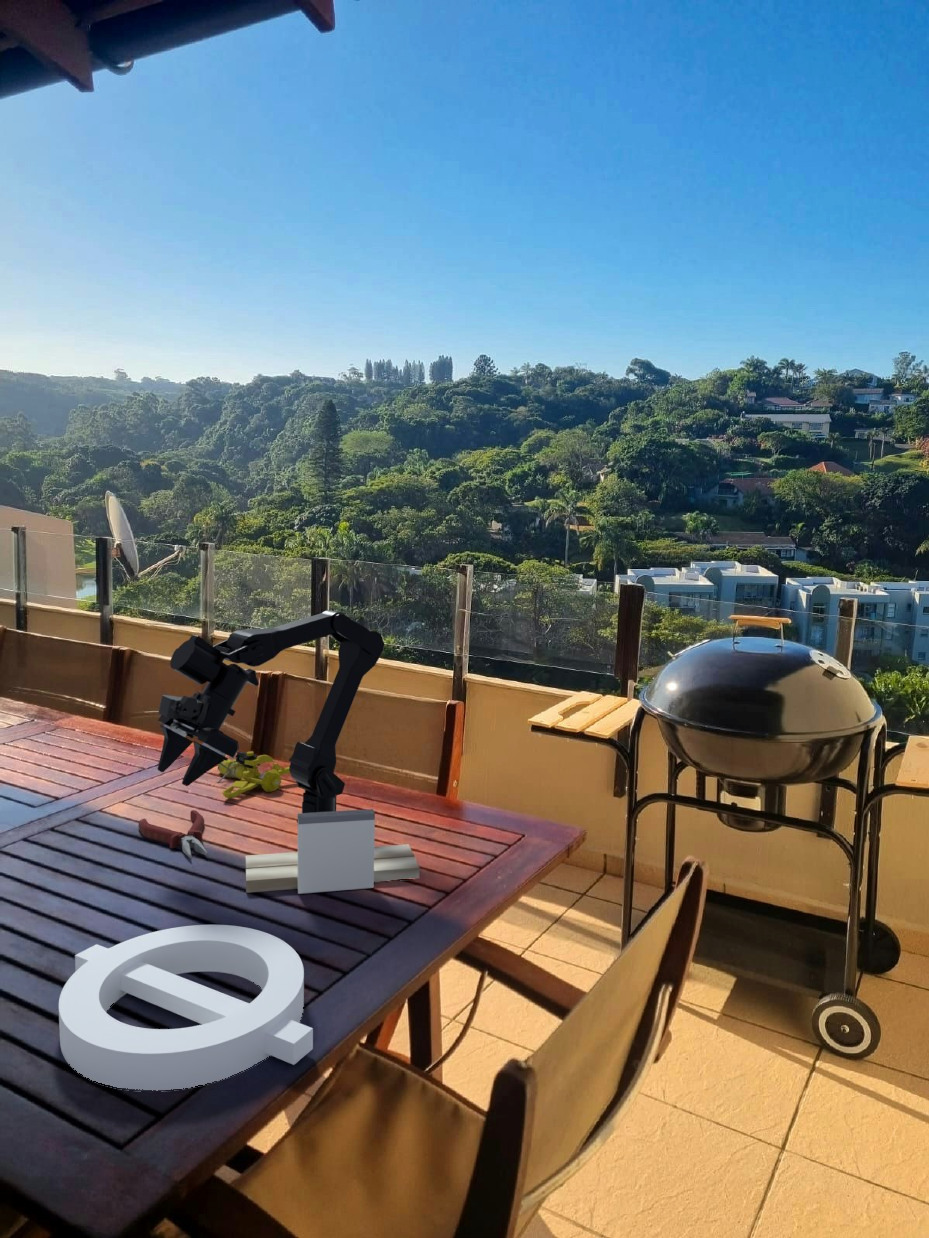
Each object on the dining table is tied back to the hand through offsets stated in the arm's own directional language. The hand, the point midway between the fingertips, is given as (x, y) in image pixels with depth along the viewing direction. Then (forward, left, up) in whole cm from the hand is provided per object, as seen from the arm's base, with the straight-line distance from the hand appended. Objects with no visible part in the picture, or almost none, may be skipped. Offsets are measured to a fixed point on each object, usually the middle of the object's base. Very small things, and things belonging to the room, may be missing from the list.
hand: (171, 777), depth 148 cm
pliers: (-6, -8, -16) cm, 19 cm away
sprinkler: (-36, -20, -15) cm, 44 cm away
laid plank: (-12, +25, -15) cm, 31 cm away
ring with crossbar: (+29, +36, -15) cm, 49 cm away
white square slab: (-7, +29, -15) cm, 34 cm away
